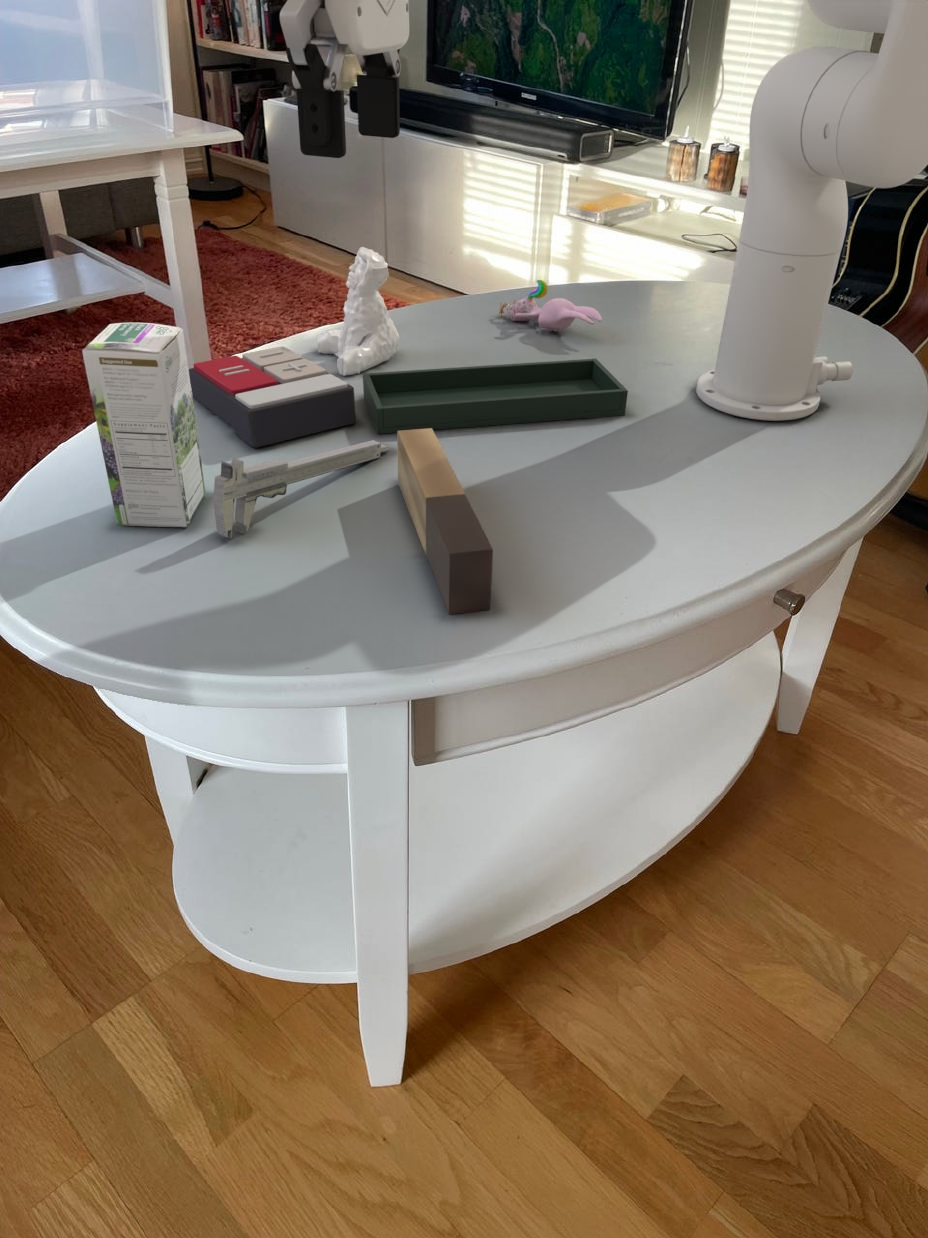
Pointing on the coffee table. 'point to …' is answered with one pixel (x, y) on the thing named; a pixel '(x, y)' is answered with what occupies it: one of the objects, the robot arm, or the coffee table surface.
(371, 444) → the caliper
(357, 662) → the coffee table surface
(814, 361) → the robot arm
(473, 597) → the two-tone wooden beam
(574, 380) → the tray
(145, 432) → the syrup box
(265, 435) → the calculator
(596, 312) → the rabbit figure
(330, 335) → the sitting furry creature
